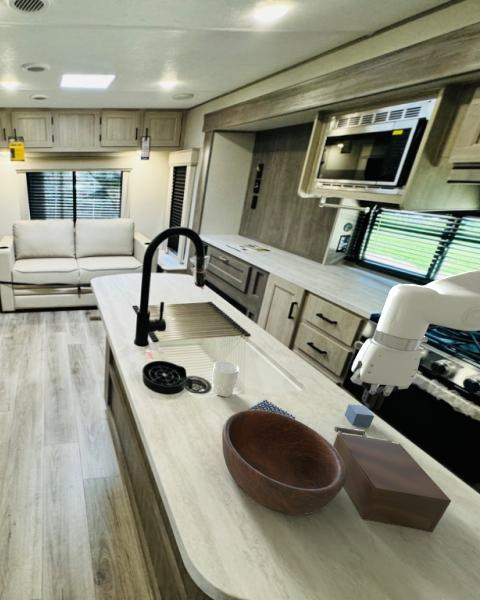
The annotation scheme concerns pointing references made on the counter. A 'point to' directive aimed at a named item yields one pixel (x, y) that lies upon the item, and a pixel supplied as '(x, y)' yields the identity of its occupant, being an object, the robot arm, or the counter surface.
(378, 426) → the counter surface
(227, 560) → the counter surface
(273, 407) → the woven mat
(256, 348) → the counter surface
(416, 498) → the cabinet
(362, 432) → the drawer
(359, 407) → the block
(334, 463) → the wooden bowl
